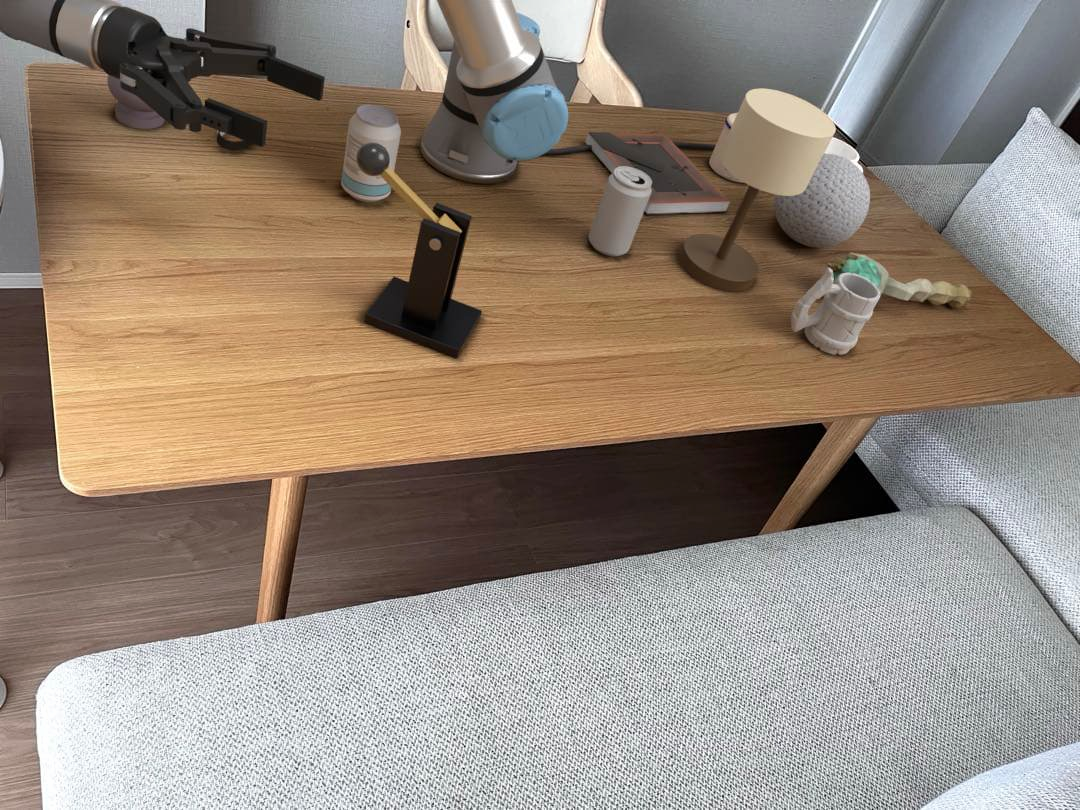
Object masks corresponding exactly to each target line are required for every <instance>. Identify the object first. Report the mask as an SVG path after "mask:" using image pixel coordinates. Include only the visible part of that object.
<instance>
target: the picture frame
mask: <svg viewBox="0 0 1080 810" xmlns="http://www.w3.org/2000/svg"><path fill="white" fill-rule="evenodd" d="M673 142H674V141H672V140H671V139H670V138H669V137H668V136H667V135H666V134H664V133H624V132H623V133H622V132H621V133H620V132H619V133H617V132H616V133H615V132H608V131H588V133H587V135H586V139H585V141H584V143H585V145H590V144H591V145H592V150H591V151H592V152H593V154H594V155H595V156H596V157H597V158H598V159H599V161H600V162H601V163H602V164H603V165H604V167H605V168H606V169H607V170H608V171H609V172H610V174H612V173H614V170H615V169H616V168H617V167H620V166H628V167H633V168H636V169H638V170H640V171H642V172H644V173H646V174H647V175H648V176H649V177H650V178H651V180H652V185H651V190H652V192H651V195H650V197H649V200H648V202H647V205H646V208H645V210H644V214H646V215H666V214H667V215H670V214H671V215H673V214H698V213H699V214H701V213H702V214H704V213H707V214H708V213H724V212H726V211H727V209H728V207H729V205H730V203H731V200H729V199H728V198H727V197H726V195H724V193H723V192H722V191H720V189H718V187H717V186H716V185H715V184H714V183H713V182H712V181H711V180H710V179H709V178H708V177H707V176H706V175H705V174H704V173H703V172H702V171H701V169H699V168H698V166H696V165H695V163H693V162H692V161H691V160H690V159H689V158H688V156H687V155H686V154H685V153H683V151H682V150H681V149H680V148H679V147H677V146H676V145H675V144H674V143H673Z"/></svg>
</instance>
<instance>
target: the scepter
mask: <svg viewBox="0 0 1080 810" xmlns="http://www.w3.org/2000/svg"><path fill="white" fill-rule="evenodd" d="M827 268H830V269H832V270H833V277H834V282H835V281H836V279H837V278H838V276H839V275H840V274H842V273H851V274H852V273H855V274H858V275H860V276H862V277H864V278H866V279H868V280H870V281H871V282H872V283H873V284H874V285H875V286H876V287H877V289H878V291H879V292H880V296H887V297H893V298H896V299H898V300H902V301H906V302H907V301H909V300H910V301H912V302H919V303H924V302H925V300H927V301H929V302H930V303H931V304H932V305H934V306H940V305H944V304H948V305H949V306H950V307H951V308H961V307H962V306H964V305H966V304H967V303H968V302H969V301H971V297H972V292H973V291H972V290H971V289H970V288H968V287H967V286H966V285H965V284H961V283H954V284H951V283H950V282H947V281H944V280H939V281H934V282H931V281H930V280H929V279H927V278H922V277H921V278H920V277H919V278H917V279H915V280H912V281H908V282H906V283H902V282H900V281H898V280H896V279H894V278H892V277H890V275H889V271H888V270H887V269H886V268H885V267H884V266H883V265H882V264H881V263H879V262H878V261H876V260H874V259H873V258H871V257H869V256H867V255H865V254H859V253H855V252H848V253H847V254H846V256H845V259H844V258H842V257H838V256H836V257H835V258H834V260H833V262H828V263H827ZM834 282H833V284H834Z"/></svg>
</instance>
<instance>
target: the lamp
mask: <svg viewBox="0 0 1080 810" xmlns="http://www.w3.org/2000/svg"><path fill="white" fill-rule="evenodd" d="M737 113H738V114H737V116H736V118H735V120H734V123H733V125H732V127H731V129H730V132H729V134H728V136H727V139H726V141H725V143H724V145H723V148H722V150H721V152H720V160H721V162H722V164H723V165H724V167H725V168H726V169H727V170H728V171H729V172H730V173H731V174H732V175H734V176H735V177H736V178H738V179H739V180H741V181H742V182H744V183H743V184H746V185H748V187H747V189H746V192H745V193H744V196H743V198H742V200H741V201H740V204H739V206H738V208H737V210H736V213H735V215H734V217H733V219H732V220H731V223H730V225H729V227H728V229H727V231H726V234H725V235H724V237H722V236H720V235H719V236H718V235H716V234H710V233H695V234H692V235H690V236H688V237H686V239H685V240H684V241H683V244H682V247H681V249H680V251H679V262H680V264H681V265H682V267H683V268H684V270H685V271H686V272H687V273H688V274H689V275H691V276H692V277H693V278H694V279H696V280H698V281H699V282H701V283H702V284H704V285H706V286H708V287H711V288H713V289H717V290H720V291H725V292H732V293H733V292H742V291H746V290H747V289H749V288H750V287H751V286H752V285H753V283H754V281H755V279H756V277H757V276H758V273H759V266H758V263H757V261H756V259H755V258H754V257H753V255H751V253H750V252H748V251H747V250H746V249H745V248H744V247H743V246H741V245H739V244H738V243H736V240H737V237H738V235H739V234H740V231H741V229H742V227H743V225H744V223H745V221H746V219H747V217H748V215H749V213H750V211H751V208H752V206H753V204H754V203H755V200H756V198H757V196H758V194H759V192H760V191H763V192H765V193H768V194H772V195H775V194H776V195H782V196H794V195H799V194H801V193H802V192H804V190H805V189H806V187H807V185H808V183H809V181H810V179H811V177H812V175H813V174H814V172H815V170H816V168H817V166H818V164H819V162H820V160H821V158H822V156H823V154H824V153H825V151H826V149H827V147H828V145H829V143H830V141H831V139H832V137H833V138H834V135H835V133H836V131H837V129H836V125H835V123H834V121H833V120H832V119H831V118H830V117H829V115H828V114H826V113H825V112H824V111H823V110H822V109H820V108H819V107H817V106H816V105H814V104H812V103H810V102H808V101H807V100H805V99H803V98H801V97H798V96H796V95H793V94H790V93H787V92H784V91H781V90H776V89H772V88H762V87H761V88H759V87H758V88H753V89H750V90H748V91H747V92H746V94H745V96H744V98H743V100H742V102H741V105H740V106H739V109H738V111H737Z"/></svg>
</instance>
